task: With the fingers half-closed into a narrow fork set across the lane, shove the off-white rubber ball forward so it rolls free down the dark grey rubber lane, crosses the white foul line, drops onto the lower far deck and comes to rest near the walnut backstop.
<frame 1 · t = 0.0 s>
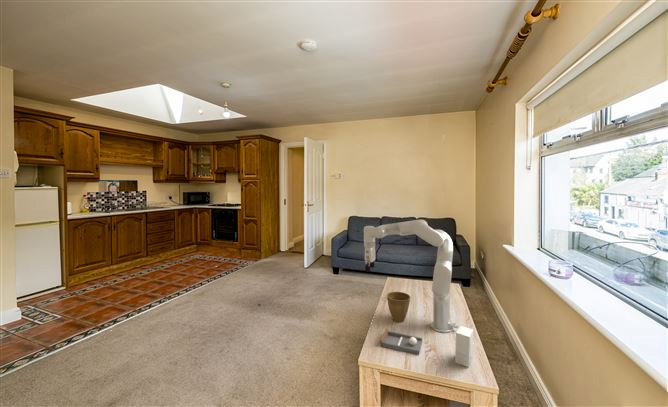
hand: (369, 269, 182), 31 cm above the table, fingers open, 9 cm apart
ball: (412, 341, 146), point 3 cm above the table, touching lane
skincare box: (464, 361, 133), on the table
lane: (401, 344, 148), on the table
plant pot: (398, 320, 176), on the table
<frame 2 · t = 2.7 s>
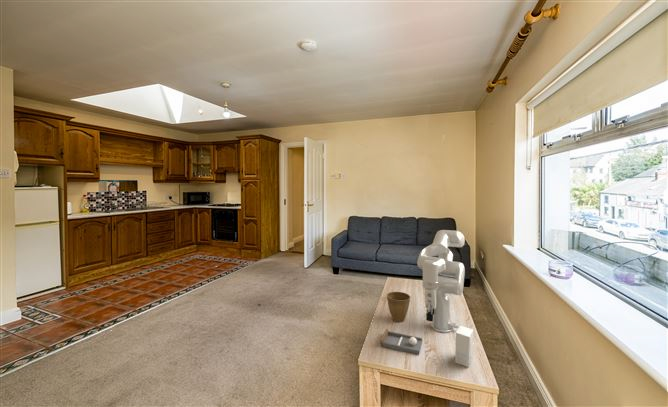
hand: (430, 317, 141), 18 cm above the table, fingers open, 7 cm apart
nothing on the table moved.
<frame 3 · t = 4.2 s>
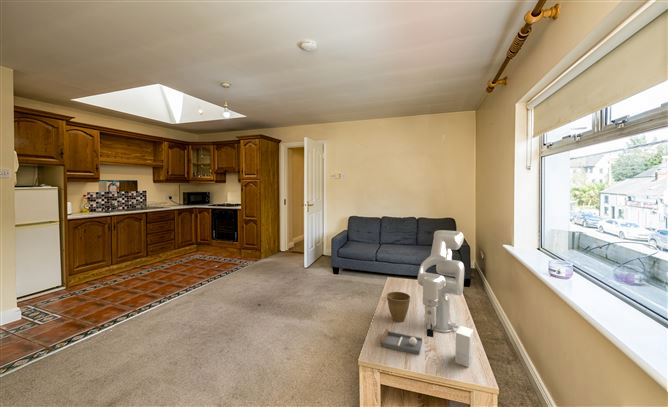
hand: (430, 336, 141), 8 cm above the table, fingers closed
nothing on the table moved.
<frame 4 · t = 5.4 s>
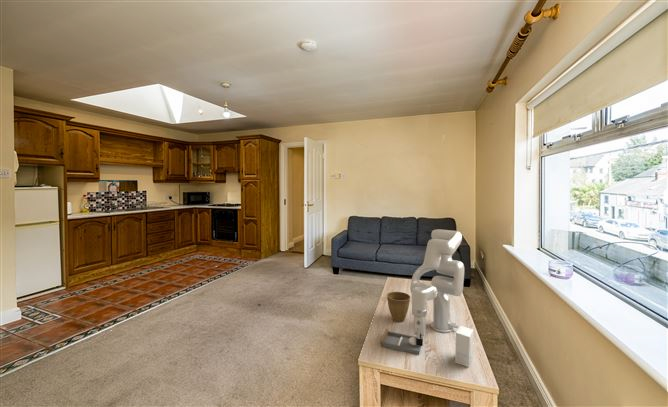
hand: (419, 344, 144), 2 cm above the table, fingers closed
ball: (412, 341, 146), point 3 cm above the table, touching gripper
everything else where it was.
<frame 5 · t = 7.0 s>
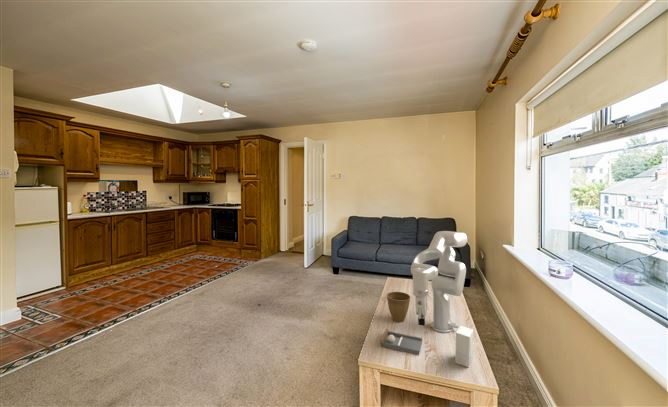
hand: (421, 324, 144), 12 cm above the table, fingers closed
ball: (391, 338, 150), point 2 cm above the table, tilted 29°, touching lane
everything else where it was.
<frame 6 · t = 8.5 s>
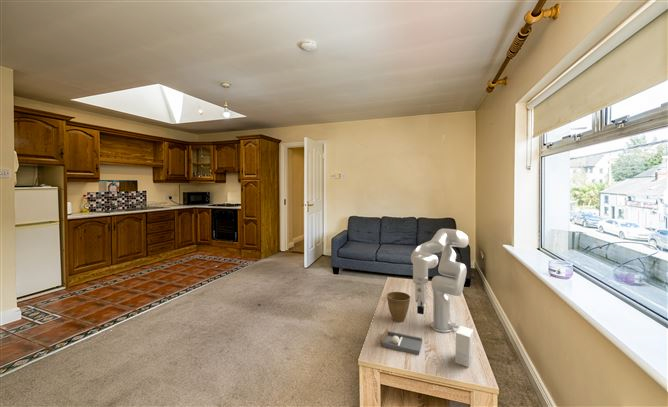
hand: (420, 313, 143), 19 cm above the table, fingers closed
ball: (395, 339, 149), point 2 cm above the table, tilted 98°, touching lane
everything else where it was.
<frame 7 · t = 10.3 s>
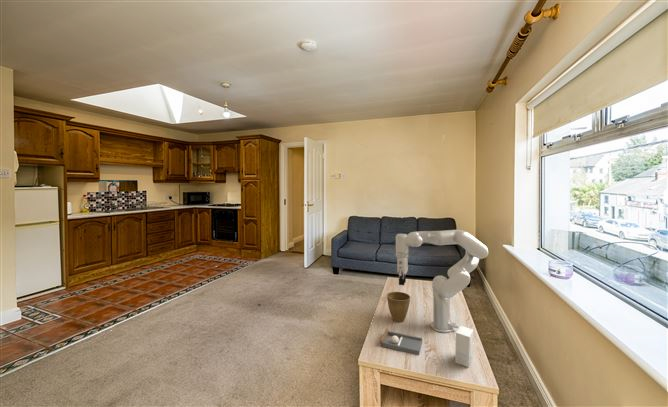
hand: (402, 283, 165), 27 cm above the table, fingers open, 3 cm apart
ball: (395, 339, 149), point 2 cm above the table, tilted 86°, touching lane
everything else where it was.
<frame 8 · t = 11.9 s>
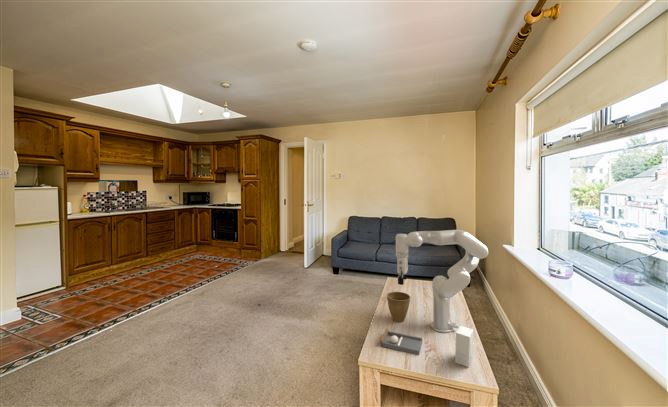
hand: (402, 281, 165), 28 cm above the table, fingers open, 9 cm apart
ball: (394, 339, 149), point 2 cm above the table, tilted 76°, touching lane
everything else where it was.
at the end: ball inside the target area on the lane (2.2 cm from its centre), point 2.2 cm above the lane's base; the gripper is holding nothing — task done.
